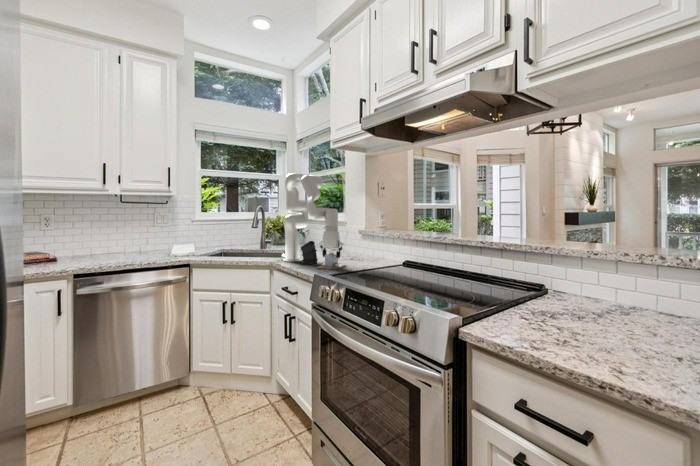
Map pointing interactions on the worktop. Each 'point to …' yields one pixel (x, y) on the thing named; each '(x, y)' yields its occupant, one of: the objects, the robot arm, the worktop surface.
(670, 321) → the worktop surface
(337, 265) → the rail board
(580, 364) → the worktop surface
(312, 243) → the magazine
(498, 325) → the worktop surface
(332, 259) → the module
